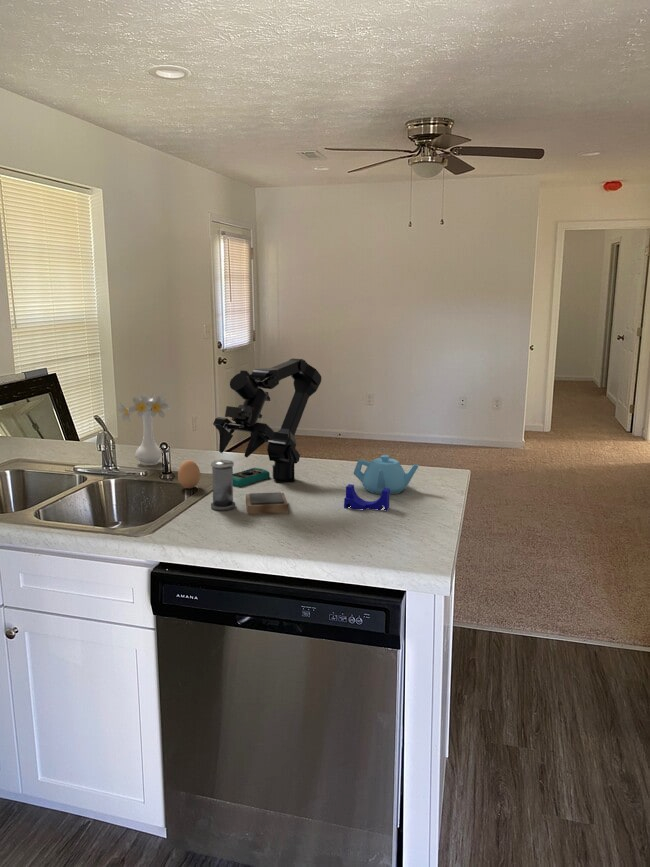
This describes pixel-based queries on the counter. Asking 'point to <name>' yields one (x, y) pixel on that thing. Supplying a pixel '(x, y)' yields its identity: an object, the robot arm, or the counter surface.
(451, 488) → the counter surface
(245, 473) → the digital multimeter
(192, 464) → the egg
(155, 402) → the flower vase
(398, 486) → the teapot
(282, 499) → the stand
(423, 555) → the counter surface
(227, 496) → the grey plastic cylinder
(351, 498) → the cable clip
